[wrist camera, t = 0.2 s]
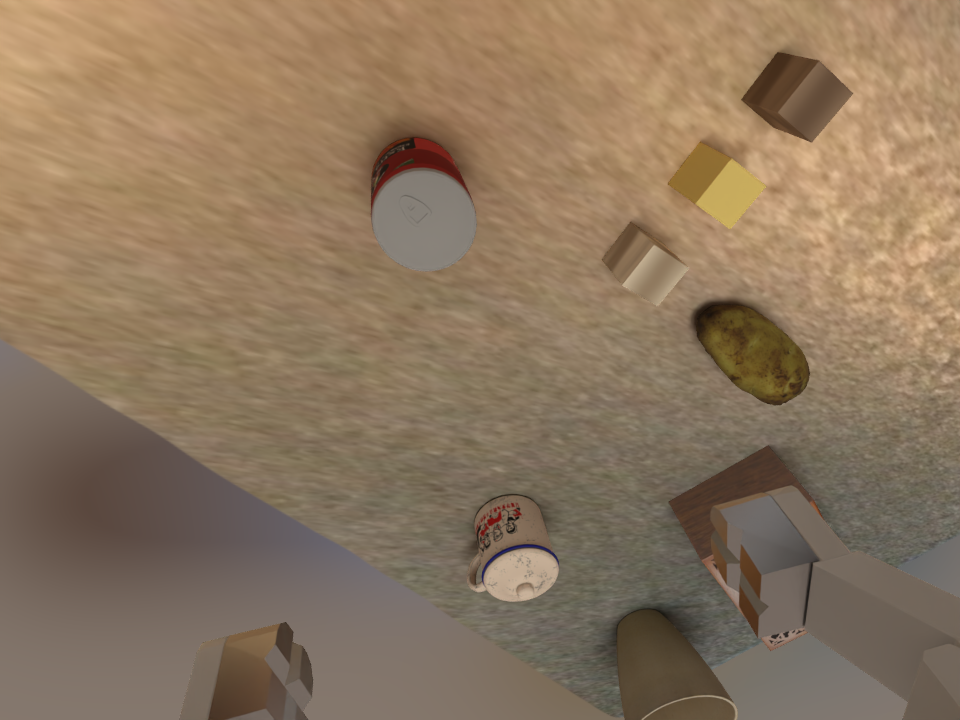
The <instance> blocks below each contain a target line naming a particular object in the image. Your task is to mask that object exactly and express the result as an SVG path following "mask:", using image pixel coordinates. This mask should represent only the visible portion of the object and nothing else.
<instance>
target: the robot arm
mask: <svg viewBox="0 0 960 720" xmlns="http://www.w3.org/2000/svg"><path fill="white" fill-rule="evenodd" d="M710 520H711V522H712V524H713V525H714V527H715V529H716V530H715V531H714V533H713V534H712V535H711V549H712V553H713V556H714V560H715V563H716V565H717V568H718V570H719V572H720V574H721V576H722V578H723V580H724V581H725V583H726V585H727V586H728V587H730V588H732V589H734V590H735V591H737V592H739V607H740V609H741V611H742V613H743V614H744V616H745V618H746V619H747V621H748V623H749V624H750V626H751V628H752V629H753V631H754V633H755V635H756V636H757V638H758V639H759V638H763V637H767V636H771V635H775V634H779V633H783V632H788V631H792V630H796V629H800V628H804V627H805V629H804V630H805V631H807V632H808V633H810V634H811V635H812V636H814V637H815V638H817V639H818V640H819V641H821V642H823V643H824V644H825V645H827V646H828V647H830V648H831V649H832V650H834V651H835V652H837V653H838V654H840V655H841V656H843V657H844V658H845V659H847V660H848V661H850V662H851V663H853V664H854V665H855V666H857V667H858V668H860V669H861V670H863V671H864V672H865V673H867V674H868V675H870V676H871V677H873V678H874V679H876V680H877V681H879V682H880V683H881V684H883V685H884V686H886V687H887V688H888V689H890V690H891V691H893V692H894V693H896V694H897V695H899V696H900V697H902V698H903V699H904V700H906V701H907V702H908V704H907V707H906V710H905V713H904V716H903V719H902V720H960V598H958V597H956V596H954V595H952V594H950V593H948V592H945V591H943V590H941V589H939V588H937V587H935V586H933V585H931V584H928V583H926V582H924V581H922V580H920V579H918V578H916V577H913V576H912V575H909V574H907V573H905V572H903V571H901V570H899V569H897V568H895V567H893V566H890V565H888V564H886V563H884V562H882V561H880V560H878V559H876V558H873V557H871V556H869V555H867V554H865V553H863V552H861V551H856V552H852V553H851V552H850V551H849V550H848V548H847V547H846V546H845V545H844V544H843V542H842V541H841V540H840V539H839V538H838V536H837V535H836V534H835V533H834V532H833V530H832V529H831V528H830V527H829V526H828V524H827V523H826V522H825V521H824V520H823V518H822V517H821V516H820V515H819V514H818V513H817V511H816V510H815V509H814V508H813V507H812V505H811V504H810V503H809V502H808V501H807V499H806V498H805V497H804V496H803V495H802V493H801V492H800V491H799V490H798V489H797V488H795V487H794V486H792V485H791V486H786V487H782V488H779V489H775V490H772V491H768V492H765V493H758V494H755V495H751V496H748V497H744V498H741V499H737V500H733V501H730V502H726V503H723V504H719V505H716V506H713V507H712V509H711V516H710ZM292 641H293V631H292V629H291V628H290V627H289V625H288V624H287V623H286V622H284V623H281V624H276V625H272V626H268V627H263V628H260V629H255V630H251V631H247V632H243V633H238V634H235V635H230V636H226V637H222V638H218V639H215V640H211V641H207V642H203V643H202V645H201V646H200V648H199V650H198V651H197V653H196V658H195V661H194V665H193V669H192V673H191V676H190V680H189V684H188V688H187V692H186V696H185V699H184V703H183V708H182V711H181V715H180V719H179V720H308V719H307V717H306V716H305V714H304V713H303V711H304V709H305V707H306V706H307V704H308V703H309V701H310V700H311V698H312V688H313V677H312V669H311V663H310V660H309V657H308V655H307V652H306V651H305V649H304V648H303V646H301V645H298V644H296V643H294V642H292Z"/></svg>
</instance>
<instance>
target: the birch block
mask: <svg viewBox="0 0 960 720" xmlns="http://www.w3.org/2000/svg"><path fill="white" fill-rule="evenodd" d="M602 261H603V262H604V263H605V264H606V266H607V267H608V268H609V269H610V271H611V272H612V273H613V274H614V276H615V277H616V278H617V279H618V281H619V282H620V283H621V284H622V285H623V286H624V287H626V288H627V289H629V290H631V291H632V292H634V293H636V294H637V295H639V296H641V297H642V298H644V299H646V300H647V301H649V302H650V303H652V304H654V305H655V306H658V305H659V304H660V303H661V302H662V300H663V299H664V298H665V297H666V296H667V294H668V293H669V292H670V291H671V290H672V288H673V287H674V286H675V285H676V284H677V282H678V281H679V280H680V279H681V278H682V276H683V275H684V274H685V273H686V272H687V270H688V269H689V267H688V266H687V265H686V264H684V263H683V262H682V261H681V260H680V259H679V258H678V257H677V256H676V255H675V254H674V253H673V252H672V251H671V250H669V249H668V248H667V247H666V246H665V245H664V244H663V243H661V242H660V241H658V240H657V239H655V238H654V237H652V236H651V235H649V234H648V233H646V232H645V231H643V230H642V229H640V228H639V227H637V226H636V225H634V224H633V223H631V222H630V223H629V225H628V226H627V227H626V228H625V230H624V231H623V232H622V234H621V235H620V236H619V238H618V239H617V240H616V242H615V243H614V244H613V246H612V247H611V248H610V249H609V251H608V252H607V253H606V255H605V256H604V257H603V259H602Z"/></svg>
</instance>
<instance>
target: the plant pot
mask: <svg viewBox="0 0 960 720" xmlns="http://www.w3.org/2000/svg"><path fill="white" fill-rule="evenodd" d="M617 663H618V677H619V687H620V694H621V701H622V707H623V713H624V718H625V720H737V716H738V711H737V707H736V706H735V704H734V703H733V701H732V699H731V698H730V696H729V695H728V693H727V692H726V691H725V689H724V688H723V686H722V684H721V683H720V682H719V680H718V679H717V677H716V676H715V675H714V673H713V672H712V670H711V669H710V668H709V666H708V665H707V664H706V662H705V661H704V660H703V659H702V657H701V656H700V655H699V654H698V652H697V651H696V650H695V649H694V648H693V646H692V645H691V644H690V643H689V642H688V641H687V639H686V638H685V637H684V636H683V635H682V634H681V633H680V632H679V631H678V630H677V629H676V628H675V627H674V625H672V624H671V623H670V622H669V621H668V620H667V619H666V618H665V617H664V616H663V615H662V614H661V613H660V612H658V611H656V610H652V609H643V610H638V611H635V612H633V613H631V614H629V615H627V616H626V617H625V618H623V619H622V620H621V622H620V623H619V625H618V628H617Z"/></svg>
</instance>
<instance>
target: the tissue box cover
mask: <svg viewBox="0 0 960 720" xmlns="http://www.w3.org/2000/svg"><path fill="white" fill-rule="evenodd" d="M791 485H792V486H794V487H795V488H797V489H798V490H799V491H800V492H801V493H802V495H803V496H804V497H805V498H806V499H807V501H808V502H809V503H810V504H811V505H812V507H813V508H814V509H815V510H816V511H817V513H818V514H819V515H820V516H821V517H822V515H821V513H820V511H819V509H818V507H817V505H816V504H815V502H814V500H813V499H812V497H811V496H810V495H809V494H808V493H807V491H806V490H805V489H804V488H803V487H802V486H801V484H800V483H799V482H798V481H797V480H796V478H795V477H794V476H793V475H792V474H791V472H790V471H789V470H788V469H787V468H786V466H785V465H784V464H783V463H782V462H781V460H780V459H779V458H778V457H777V456H776V454H775V453H774V452H773V451H772V450H771V448H770V447H769V446H766V447H764V448H763V449H761V450H759V451H757V452H756V453H754V454H752V455H750V456H748V457H747V458H745V459H743V460H741V461H740V462H738V463H736V464H734V465H733V466H731V467H729V468H727V469H725V470H724V471H722V472H720V473H718V474H717V475H715V476H713V477H711V478H710V479H708V480H706V481H704V482H702V483H701V484H699V485H697V486H695V487H694V488H692V489H690V490H688V491H687V492H685V493H683V494H681V495H679V496H678V497H676V498H674V499H672V500H671V501H669V503H670V505H671V507H672V509H673V511H674V512H675V514H676V516H677V518H678V520H679V521H680V523H681V525H682V527H683V528H684V530H685V532H686V534H687V536H688V537H689V539H690V541H691V543H692V545H693V546H694V548H695V550H696V552H697V554H698V555H699V557H700V559H701V561H702V562H703V563H704V565H705V566H706V567H707V568H708V570H709V571H710V572H711V574H712V575H713V576H714V578H715V579H716V580H717V582H718V583H719V584H720V586H721V587H722V588H723V589H724V591H725V592H726V593H727V595H728V596H729V597H730V599H731V600H732V601H733V603H734V604H735V605H736V607H737V608H738V609H739V610H740V612H741V613H742V611H741V609H740V607H739V592H737V591H735V590H734V589H732V588H730V587H728V586H727V585H726V583H725V581H724V580H723V578H722V576H721V574H720V572H719V570H718V568H717V565H716V563H715V560H714V556H713V553H712V549H711V535H712V534H713V533H714V531H715V530H716V529H715V527H714V525H713V524H712V522H711V520H710V516H711V509H712V507H713V506H716V505H719V504H723V503H726V502H730V501H733V500H737V499H741V498H744V497H748V496H751V495H755V494H758V493H765V492H768V491H772V490H775V489H779V488H782V487H786V486H791ZM822 518H823V517H822ZM823 520H824V519H823ZM742 614H743V613H742ZM743 616H744V614H743ZM744 617H745V616H744ZM746 620H747V619H746ZM804 629H805V627H804V628H800V629H796V630H792V631H788V632H783V633H779V634H775V635H771V636H767V637H763V638H761V639H762V641H763V642H764V643H765V645H766V646H767V647H768V648H769V650H770V651H771V650H774V649H776V648H778V647H780V646H782V645H784V644H786V643H788V642H790V641H792V640H794V639H796V638H798V637H800V636H802V635H804V634H806V633H808V632H807V631H805V630H804Z"/></svg>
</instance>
